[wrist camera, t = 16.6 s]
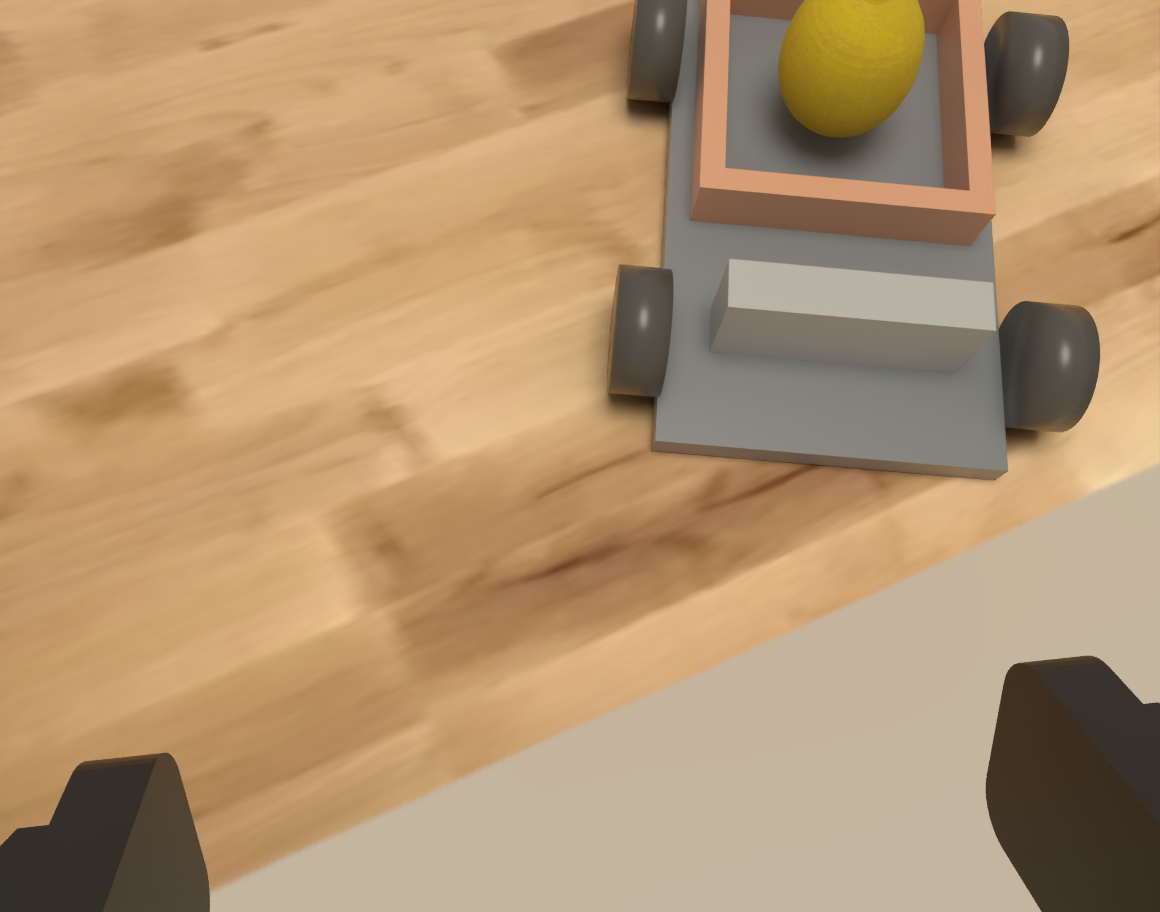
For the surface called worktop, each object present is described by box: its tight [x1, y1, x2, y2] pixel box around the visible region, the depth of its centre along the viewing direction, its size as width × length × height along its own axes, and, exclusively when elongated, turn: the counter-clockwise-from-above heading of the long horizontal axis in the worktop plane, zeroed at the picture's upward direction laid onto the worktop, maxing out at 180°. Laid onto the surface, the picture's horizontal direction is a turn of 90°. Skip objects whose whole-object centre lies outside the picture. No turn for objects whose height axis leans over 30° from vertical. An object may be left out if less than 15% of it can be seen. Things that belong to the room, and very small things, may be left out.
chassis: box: [607, 0, 1100, 480], centre depth 43 cm, size 18×22×5 cm
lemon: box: [778, 0, 925, 138], centre depth 42 cm, size 6×6×8 cm
